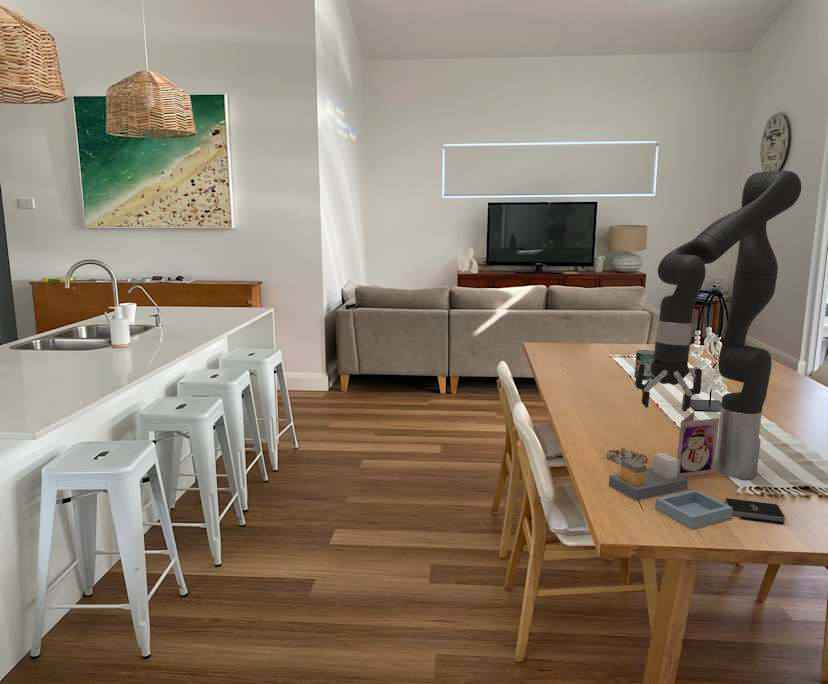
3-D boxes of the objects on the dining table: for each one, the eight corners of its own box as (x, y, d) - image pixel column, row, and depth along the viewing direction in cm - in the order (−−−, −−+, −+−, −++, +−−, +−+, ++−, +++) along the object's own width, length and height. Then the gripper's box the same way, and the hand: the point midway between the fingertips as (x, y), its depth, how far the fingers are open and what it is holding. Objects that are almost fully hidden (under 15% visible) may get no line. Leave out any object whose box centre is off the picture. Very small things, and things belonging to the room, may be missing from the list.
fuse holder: (658, 477, 162) (659, 465, 161) (686, 491, 154) (688, 479, 153) (608, 487, 156) (609, 475, 155) (635, 502, 148) (636, 490, 147)
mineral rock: (605, 457, 169) (607, 440, 176) (603, 470, 171) (606, 452, 178) (648, 464, 166) (649, 446, 173) (646, 477, 168) (647, 459, 175)
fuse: (660, 479, 160) (662, 452, 158) (675, 486, 155) (678, 459, 154) (651, 481, 158) (653, 454, 157) (666, 488, 154) (669, 461, 152)
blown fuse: (629, 485, 156) (631, 458, 154) (644, 493, 151) (646, 465, 150) (619, 487, 154) (621, 460, 153) (634, 495, 150) (636, 467, 148)
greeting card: (677, 480, 160) (683, 423, 157) (658, 469, 167) (663, 413, 164) (715, 475, 163) (721, 419, 160) (695, 464, 170) (701, 410, 167)
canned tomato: (630, 376, 263) (632, 350, 261) (646, 375, 265) (648, 349, 263) (642, 381, 256) (644, 354, 253) (659, 380, 258) (661, 353, 256)
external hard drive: (784, 526, 138) (785, 517, 137) (728, 519, 141) (729, 510, 140) (776, 512, 144) (777, 504, 144) (722, 505, 147) (723, 497, 147)
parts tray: (694, 501, 148) (695, 489, 148) (731, 520, 139) (732, 507, 139) (654, 510, 143) (655, 498, 143) (690, 530, 135) (691, 517, 134)
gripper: (701, 341, 151) (693, 408, 154) (638, 336, 154) (631, 401, 157) (709, 346, 144) (700, 416, 147) (642, 340, 147) (635, 409, 150)
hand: (664, 408), depth 152 cm, fingers open, 8 cm apart
